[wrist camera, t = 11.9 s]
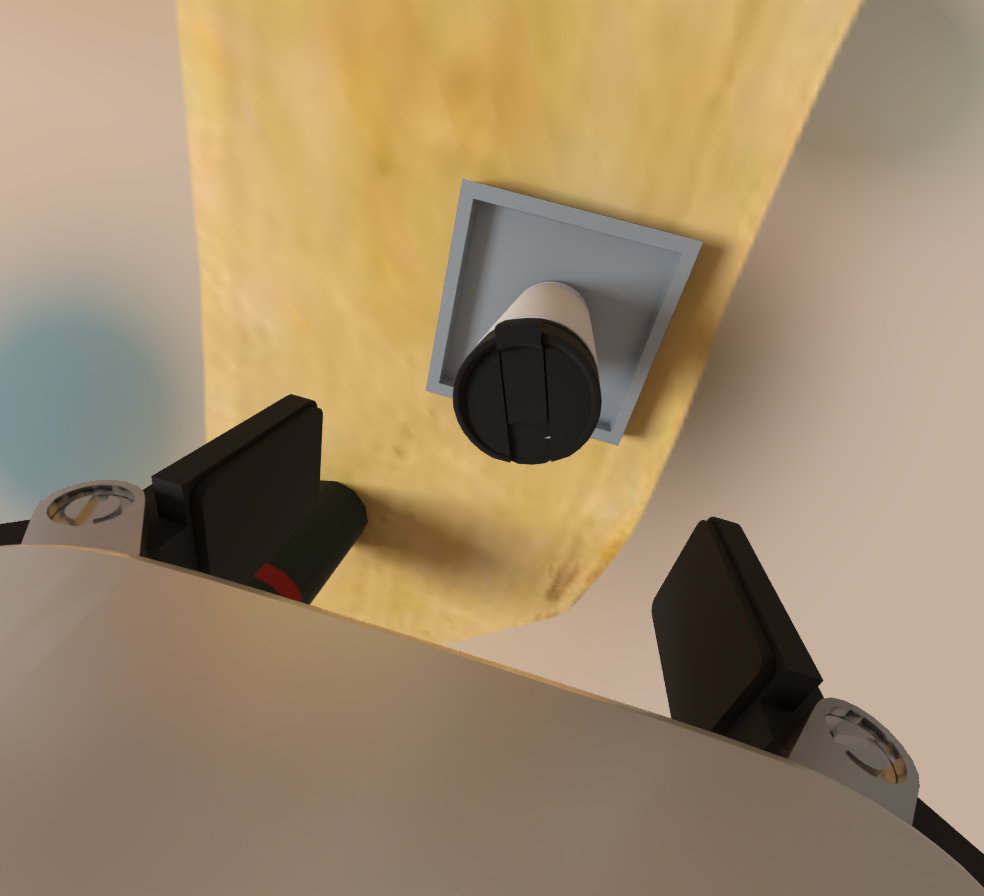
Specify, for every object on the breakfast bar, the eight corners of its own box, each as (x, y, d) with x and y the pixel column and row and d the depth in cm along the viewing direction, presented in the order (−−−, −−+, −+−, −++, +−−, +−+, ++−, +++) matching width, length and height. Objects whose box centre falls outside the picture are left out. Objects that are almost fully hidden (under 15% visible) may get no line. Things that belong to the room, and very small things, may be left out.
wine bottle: (298, 543, 52) (7, 870, 25) (301, 471, 47) (-54, 779, 21) (362, 562, 51) (134, 915, 25) (371, 491, 47) (102, 833, 20)
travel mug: (589, 271, 33) (604, 314, 16) (590, 357, 36) (604, 478, 18) (507, 279, 35) (434, 328, 17) (514, 362, 37) (458, 479, 20)
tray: (469, 182, 33) (462, 178, 31) (694, 241, 32) (703, 241, 30) (434, 382, 40) (425, 390, 38) (615, 433, 39) (618, 445, 37)
